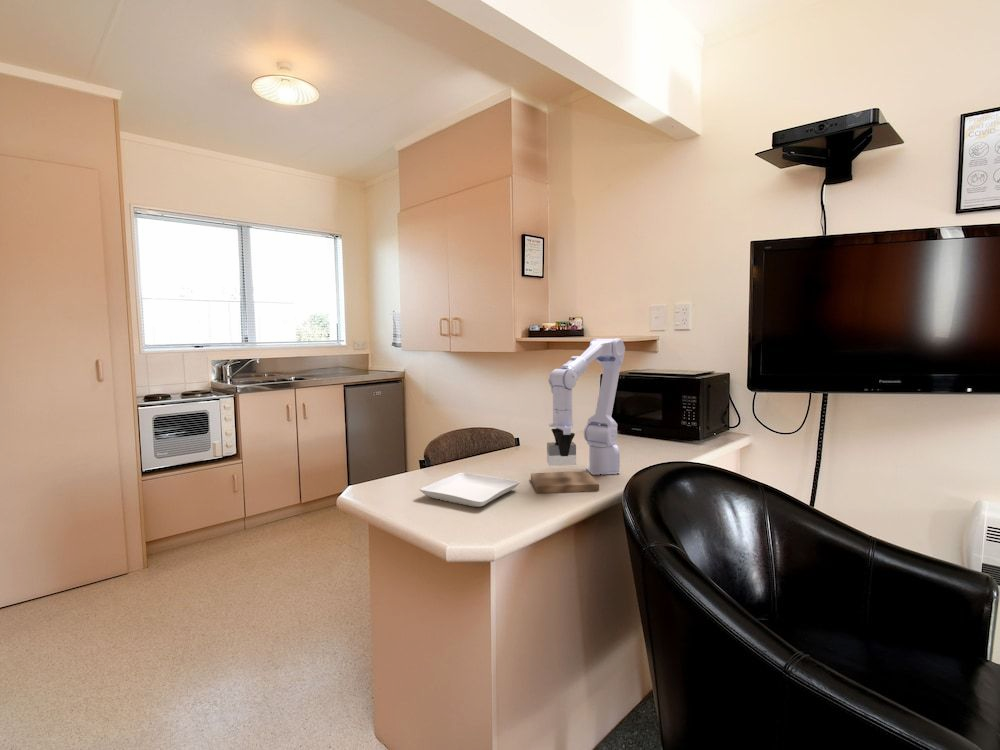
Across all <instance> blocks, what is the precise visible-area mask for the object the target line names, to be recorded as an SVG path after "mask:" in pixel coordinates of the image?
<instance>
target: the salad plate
mask: <svg viewBox="0 0 1000 750" xmlns="http://www.w3.org/2000/svg"><path fill="white" fill-rule="evenodd" d="M519 484H520V481H519V480H515V479H508V478H501V477H496V476H491V475H485V474H477V473H473V472H472V473H471V472H470V473H469V472H459V473H455V474H453V475H451V476H448V477H445V478H442V479H440V480H438V481H435V482H432V483H431V484H428V485H426V486H423V487H420V488H419V491H420V492H421V493H422V494H424V495H425V496H427V497H428V498H429V497H430V498H433V499H436V500H438V499H440V500H439V501H442V500H444V501H443V502H447V501H449V502H448V503H452V502H453V504H457V503H458V505H462V504H463V506H467V505H468V507H475V508H479V507H483V506H486V504H489V503H490V502H492V501H494V500H496V499H498V498H499V497H501V496H503V495H505V494H507V493H509V492H510V491H512V490H514V489H515V488H516V487H517V486H519Z"/></svg>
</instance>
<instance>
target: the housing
mask: <svg viewBox="0 0 1000 750" xmlns="http://www.w3.org/2000/svg"><path fill="white" fill-rule="evenodd" d="M546 460H547V461H546V462H547V464H548V466H549V467H553V466H554V467H555V466H558V467H559V466H576V465H577V445H576V443H574V441H572V442H571V445H570V450H569V454H568V456H561V455H560V450H559V443H558V442H556V441H554V442H553V441H552V442H546Z"/></svg>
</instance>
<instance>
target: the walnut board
mask: <svg viewBox="0 0 1000 750" xmlns="http://www.w3.org/2000/svg"><path fill="white" fill-rule="evenodd" d="M530 481H531V483H532V485H533V488H534V489H535V491H536V494H553V493H554V494H555V493H558V492H559V493H579V492H580V493H582V492H581V491H584V492H599V491H600V483H599V482H598V481H597V480H596V479H595V478H594V477H593V476H592V474H591V473H590V472H589V471H588V470H584V471H583V470H582V471H580V470H579V471H562V472H561V471H560V472H559V471H557V472H556V471H553V472H532V473H530ZM598 490H599V491H598ZM559 493H558V494H559Z"/></svg>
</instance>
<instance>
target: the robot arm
mask: <svg viewBox="0 0 1000 750" xmlns="http://www.w3.org/2000/svg"><path fill="white" fill-rule="evenodd" d="M624 343H625V342H624V341H623V340H622V338H619V337H616V338H599V337H598V338H597V337H596V338H593V339H592V340H591V341H590V342H589V347H587V348H586V349H585V350H584V351H583V352H582V354H581V355H576V356H575V355H573V356H571V357H570V359H569V360H568V361H567V362H566V363H564V364H562V365H561V367H560V368H555V369H553V370H552V371H551V372H550V373H549V377H548V379H547V380H548V385H549V386H550V392H551V393H552V422H550V423H548V427H550V428H551V427H552V428H551V432H552V434H553V436H554V442H558V443H559V450H560V455H561V456H568V454H569V450H570V445H571V442H573V440H574V438H575V435H576V434H575V432H572V428H573V427H574V423H573V388H575V386H576V384H577V381H578V380H579V378H580V377H581V376H582V375H583V374H584V373H586V372H587V370H588V365H589V364H591V363H592V362H593V361H594V360H596V361H597V363H598V364H599V365H600V366H602V368H603V372H602V376H601V382H600V388H599V392H598V398H597V403H596V408H595V413H594V414H593V415H592V416H590V417H589V418H588V419H587V423H586V425H585V427H584V430H583V437H584V440H585V441H586V442H587V445H589V448H588V449H589V455H588V457H589V466H588V467H587V466H586V467H585V470H586V471H587V472H588V473H589V474H590V475H591V476H592V475H593V476H596V475H597V476H598V475H600V474H601V475H618V474H617V473H620V474H621V472H620V466H621V465H620V462H621V461H620V454H621V453H620V449H619V446H618V445H617V444H616V443H617V441H618V423H617V422H616V420H615V419H614V418H613V417H612V414H613V411H614V409H613V408H614V404H615V398H616V393H617V388H618V382H619V379H620V377H619V376H620V372H621V366H623V363H624V360H625V359H624V358H625V352H626V346H625V344H624Z"/></svg>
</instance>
